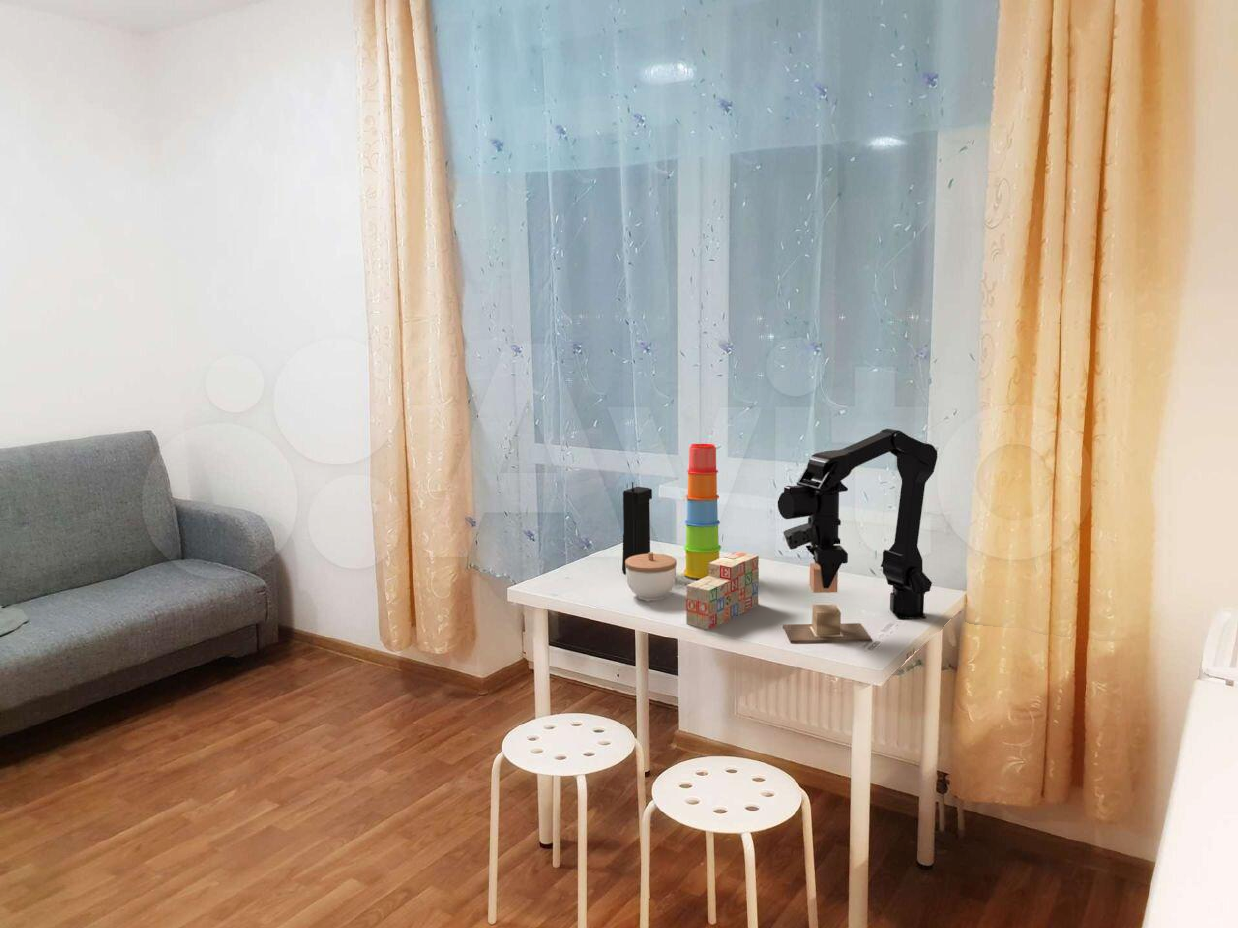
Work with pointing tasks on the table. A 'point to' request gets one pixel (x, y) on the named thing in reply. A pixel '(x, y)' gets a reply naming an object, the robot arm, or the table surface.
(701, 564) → the stacking cups
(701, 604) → the stack of blocks
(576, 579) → the table surface
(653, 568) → the lidded bowl
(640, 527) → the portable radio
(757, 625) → the table surface
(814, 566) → the terracotta cube
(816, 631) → the oak cube
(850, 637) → the brown flat panel
